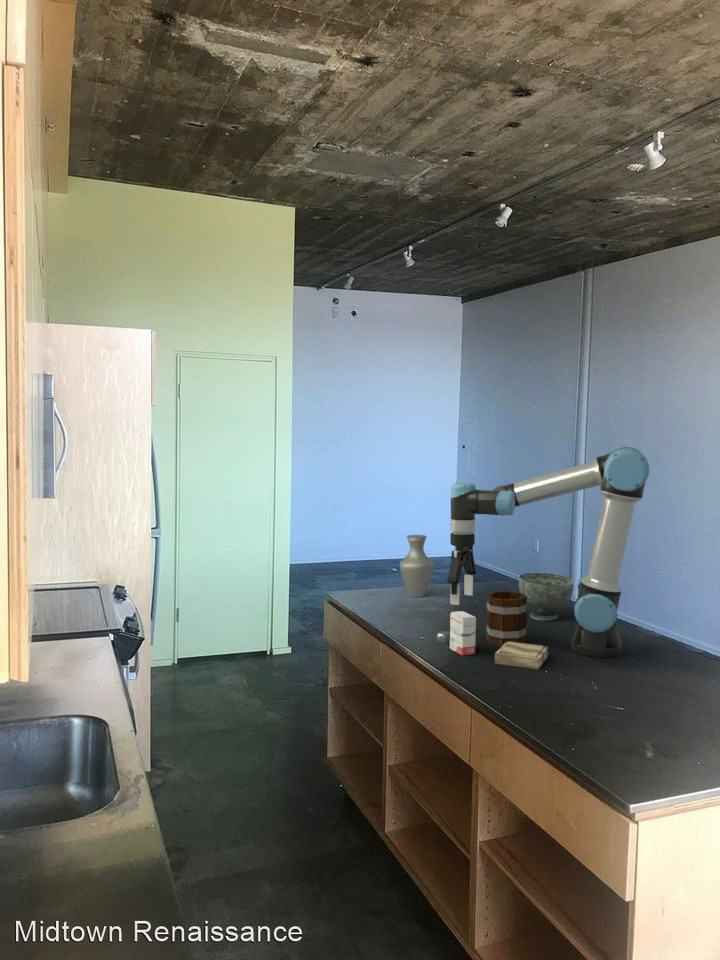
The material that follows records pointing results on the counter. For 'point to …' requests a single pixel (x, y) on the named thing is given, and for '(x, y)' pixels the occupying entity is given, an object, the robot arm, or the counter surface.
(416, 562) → the vase
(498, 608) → the mug
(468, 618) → the ink box
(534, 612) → the bowl
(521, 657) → the stand
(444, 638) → the silver metal dome
